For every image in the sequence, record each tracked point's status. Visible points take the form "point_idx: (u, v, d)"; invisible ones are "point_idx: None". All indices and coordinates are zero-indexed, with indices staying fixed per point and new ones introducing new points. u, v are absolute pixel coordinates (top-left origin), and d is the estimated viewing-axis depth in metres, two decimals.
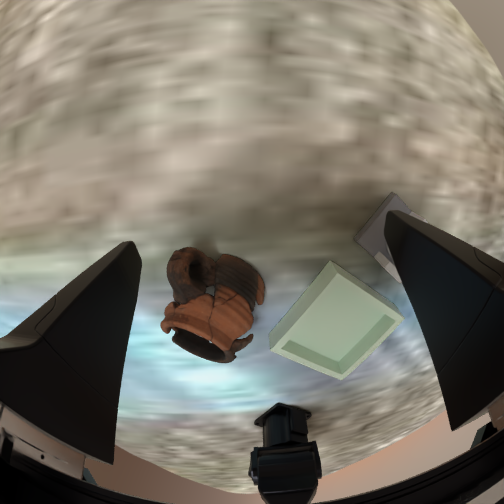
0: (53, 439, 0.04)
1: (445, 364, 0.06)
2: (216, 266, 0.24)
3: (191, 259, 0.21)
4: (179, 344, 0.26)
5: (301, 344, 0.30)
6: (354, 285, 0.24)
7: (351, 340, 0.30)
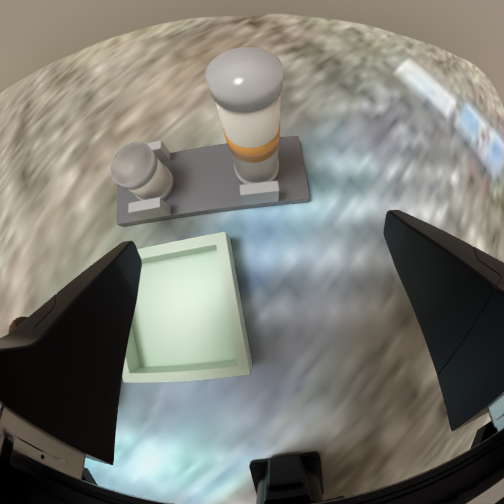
0: (53, 439, 0.04)
1: (445, 364, 0.06)
2: None
3: (19, 321, 0.19)
4: None
5: (170, 363, 0.21)
6: None
7: (220, 318, 0.22)
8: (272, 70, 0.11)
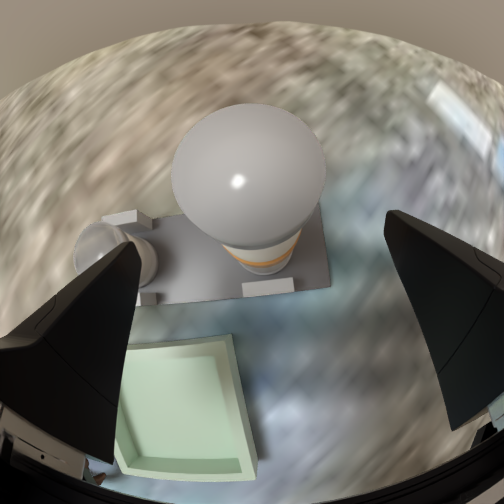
0: (53, 439, 0.04)
1: (445, 364, 0.06)
2: None
3: None
4: None
5: (170, 456, 0.16)
6: None
7: (221, 421, 0.17)
8: (304, 168, 0.06)
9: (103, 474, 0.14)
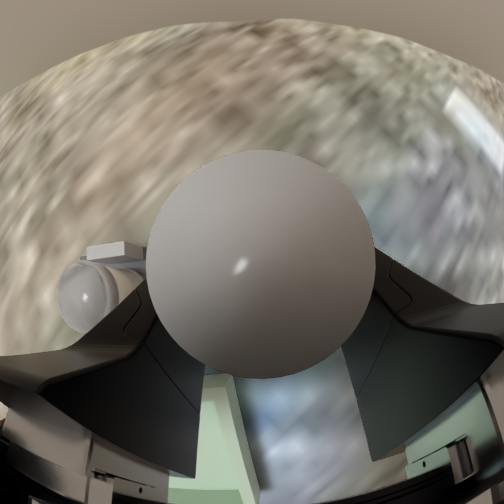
0: (144, 464, 0.04)
1: (360, 389, 0.06)
2: None
3: None
4: None
5: (171, 486, 0.15)
6: None
7: (223, 456, 0.15)
8: (346, 267, 0.04)
9: None
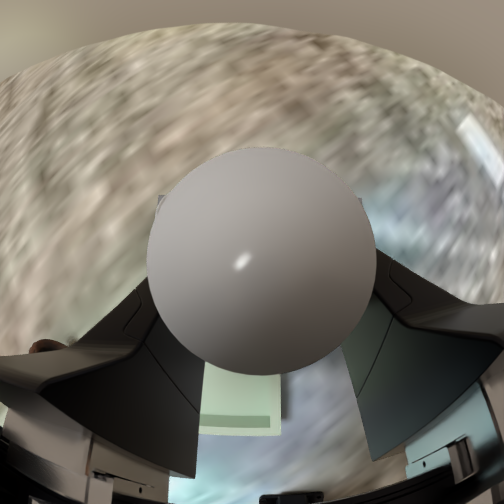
0: (144, 464, 0.04)
1: (360, 389, 0.06)
2: None
3: (40, 345, 0.18)
4: None
5: None
6: None
7: (256, 378, 0.20)
8: (347, 263, 0.04)
9: None
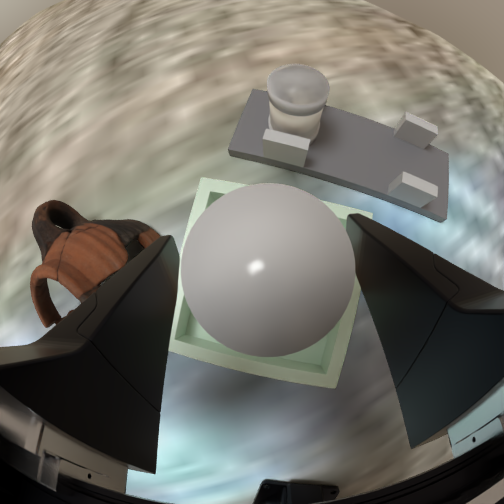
0: (97, 454, 0.04)
1: (402, 378, 0.06)
2: None
3: (55, 205, 0.15)
4: None
5: None
6: (237, 185, 0.16)
7: None
8: (332, 273, 0.05)
9: None
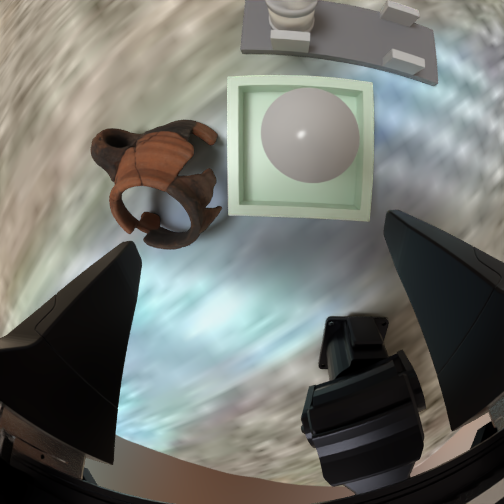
0: (53, 439, 0.04)
1: (445, 364, 0.06)
2: None
3: (107, 133, 0.18)
4: (153, 242, 0.21)
5: (280, 199, 0.22)
6: (259, 76, 0.17)
7: None
8: (346, 132, 0.09)
9: (219, 207, 0.21)
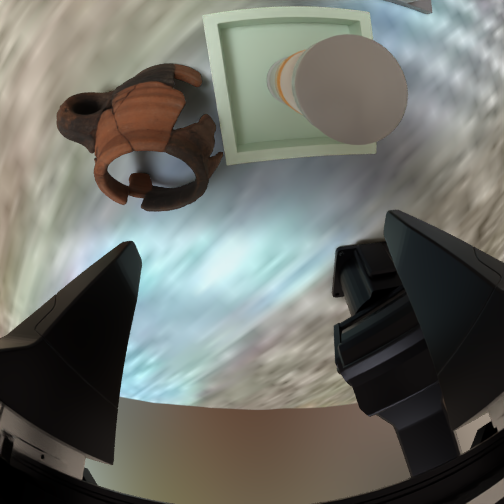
0: (53, 439, 0.04)
1: (445, 364, 0.06)
2: None
3: (72, 101, 0.13)
4: (153, 207, 0.18)
5: (278, 137, 0.19)
6: (240, 11, 0.12)
7: None
8: (394, 87, 0.06)
9: (221, 153, 0.17)
